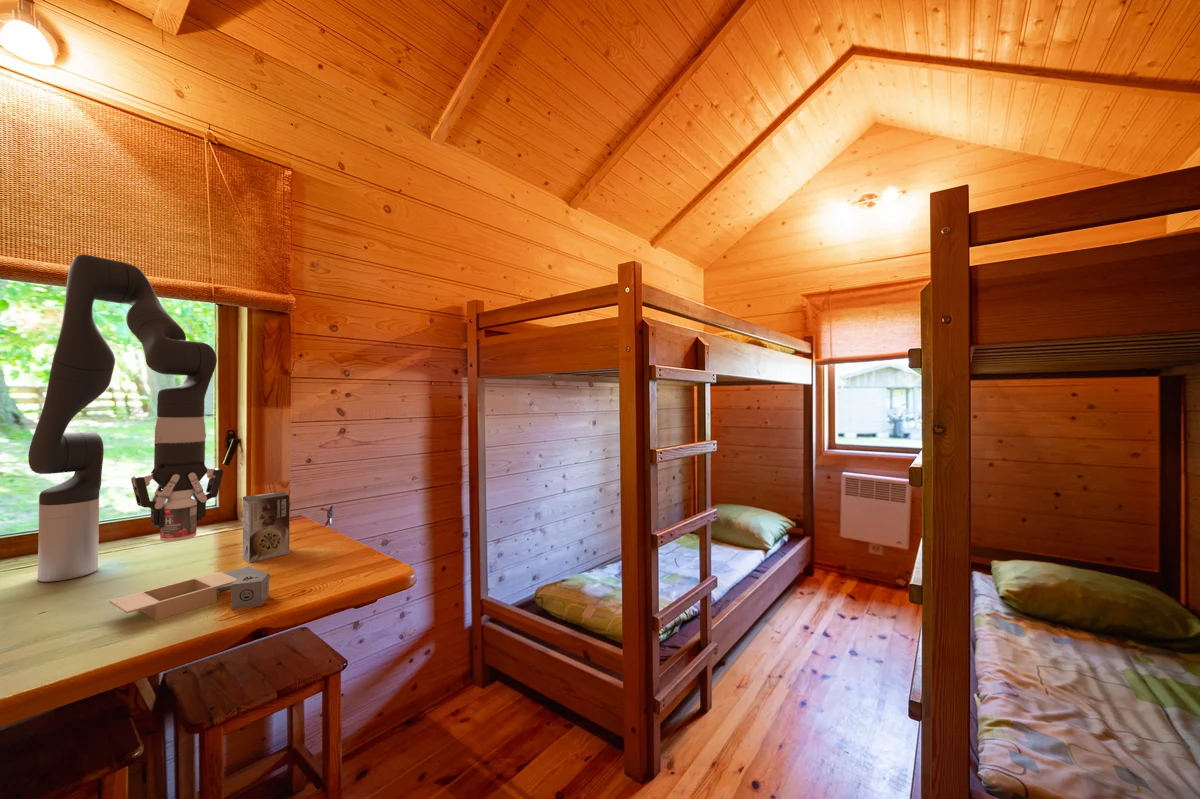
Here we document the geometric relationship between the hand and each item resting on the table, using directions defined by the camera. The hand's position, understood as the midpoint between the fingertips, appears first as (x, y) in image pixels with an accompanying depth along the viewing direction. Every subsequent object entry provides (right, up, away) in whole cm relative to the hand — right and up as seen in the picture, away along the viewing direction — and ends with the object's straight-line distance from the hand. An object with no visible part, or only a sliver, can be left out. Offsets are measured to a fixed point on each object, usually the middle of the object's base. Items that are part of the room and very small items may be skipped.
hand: (178, 523), depth 92 cm
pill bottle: (0, -3, 0) cm, 3 cm away
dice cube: (+13, -17, +2) cm, 21 cm away
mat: (+1, -17, +13) cm, 21 cm away
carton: (0, -16, 0) cm, 16 cm away
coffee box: (-4, -17, +30) cm, 34 cm away
